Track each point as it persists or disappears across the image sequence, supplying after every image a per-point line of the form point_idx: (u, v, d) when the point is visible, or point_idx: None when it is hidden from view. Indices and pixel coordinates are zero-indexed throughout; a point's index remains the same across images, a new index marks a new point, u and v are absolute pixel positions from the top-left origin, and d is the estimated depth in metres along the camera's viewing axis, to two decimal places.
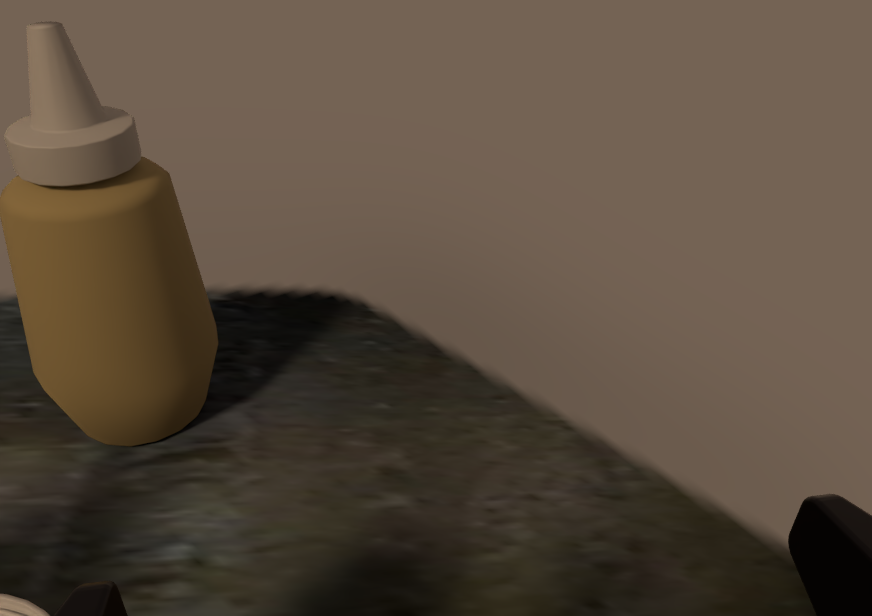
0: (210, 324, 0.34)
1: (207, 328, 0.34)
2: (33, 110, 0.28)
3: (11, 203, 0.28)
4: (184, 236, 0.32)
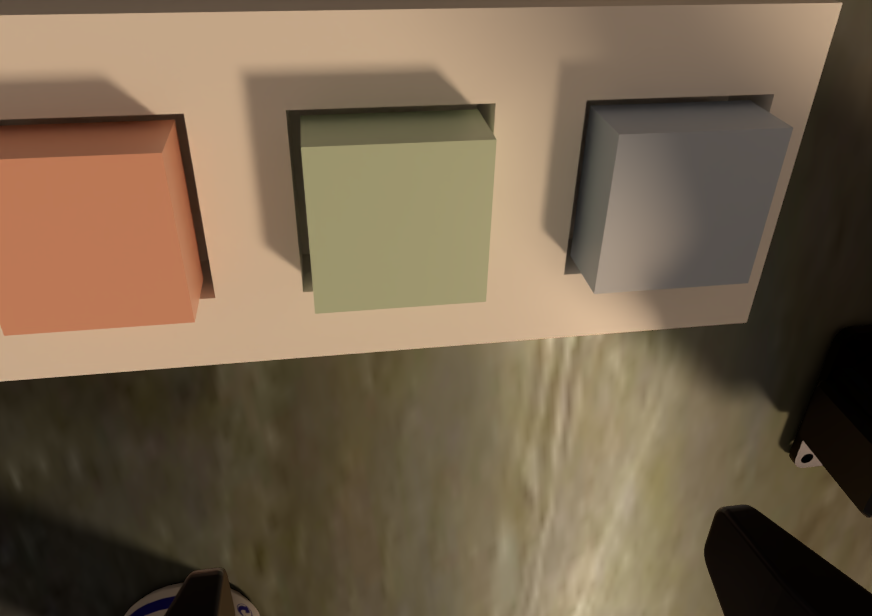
0: None
1: None
2: None
3: None
4: None
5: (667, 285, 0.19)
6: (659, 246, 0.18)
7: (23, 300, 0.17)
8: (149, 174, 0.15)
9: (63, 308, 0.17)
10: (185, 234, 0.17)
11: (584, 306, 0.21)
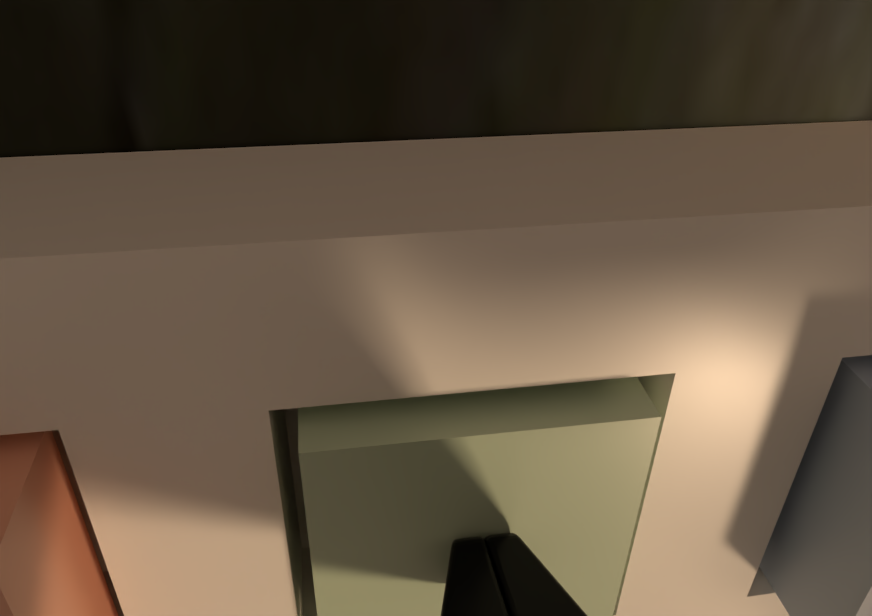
0: None
1: None
2: None
3: None
4: None
5: None
6: None
7: None
8: None
9: None
10: None
11: None
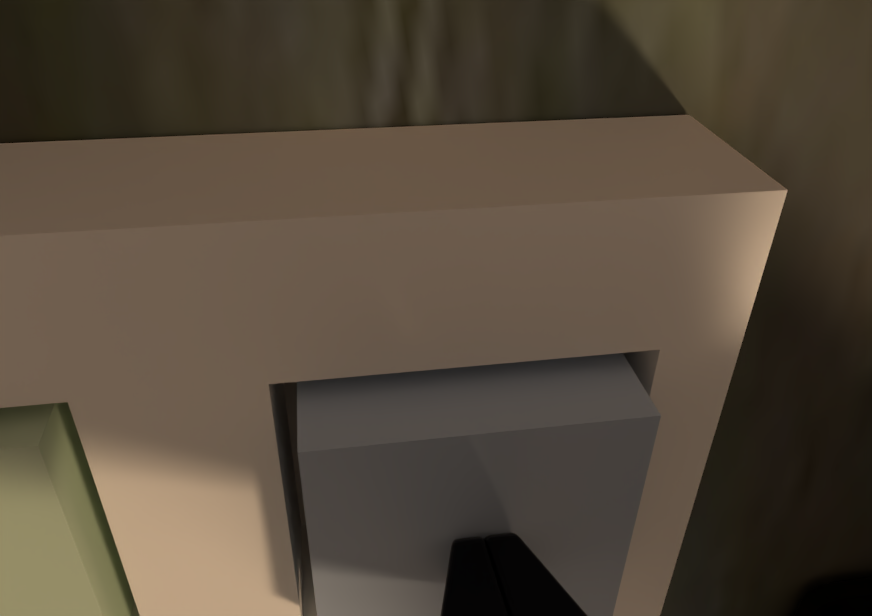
0: None
1: None
2: None
3: None
4: None
5: None
6: (431, 600, 0.10)
7: None
8: None
9: None
10: None
11: None
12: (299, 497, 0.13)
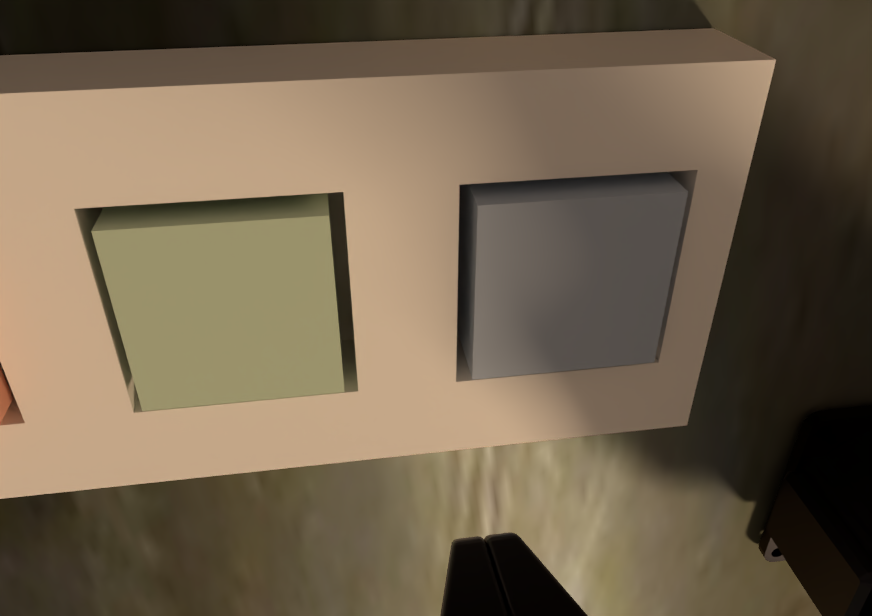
0: None
1: None
2: None
3: None
4: None
5: (559, 367, 0.17)
6: (543, 326, 0.16)
7: None
8: None
9: None
10: None
11: (486, 415, 0.18)
12: None
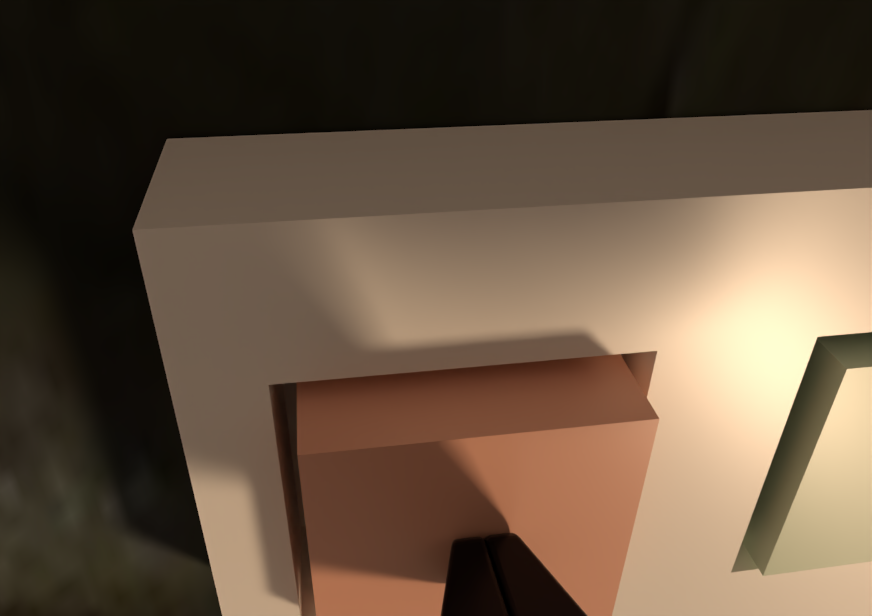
0: None
1: None
2: None
3: None
4: None
5: None
6: None
7: None
8: (626, 449, 0.09)
9: None
10: None
11: None
12: None
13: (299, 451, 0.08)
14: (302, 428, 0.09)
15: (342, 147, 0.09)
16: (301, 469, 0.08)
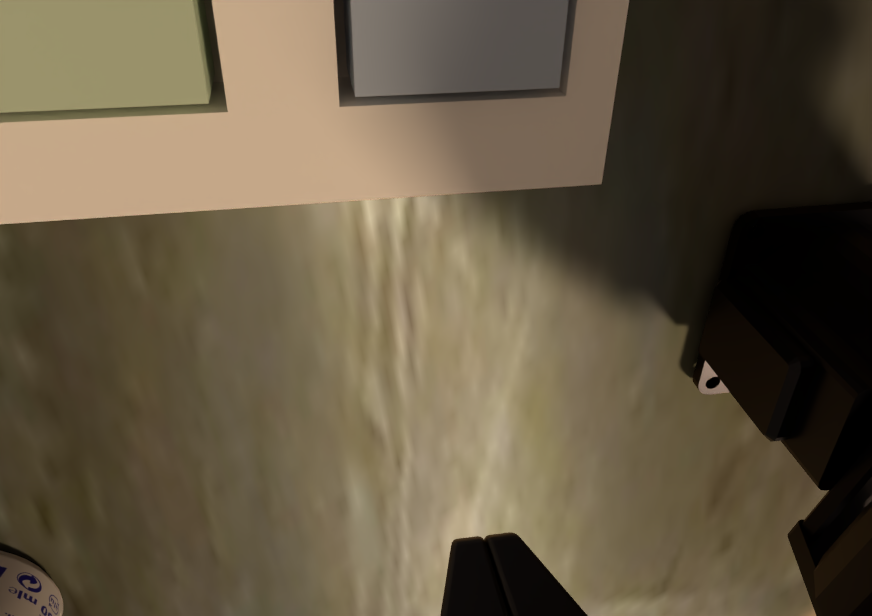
0: None
1: None
2: None
3: None
4: None
5: (454, 90, 0.15)
6: (431, 28, 0.14)
7: None
8: None
9: None
10: None
11: (376, 155, 0.16)
12: None
13: None
14: None
15: None
16: None
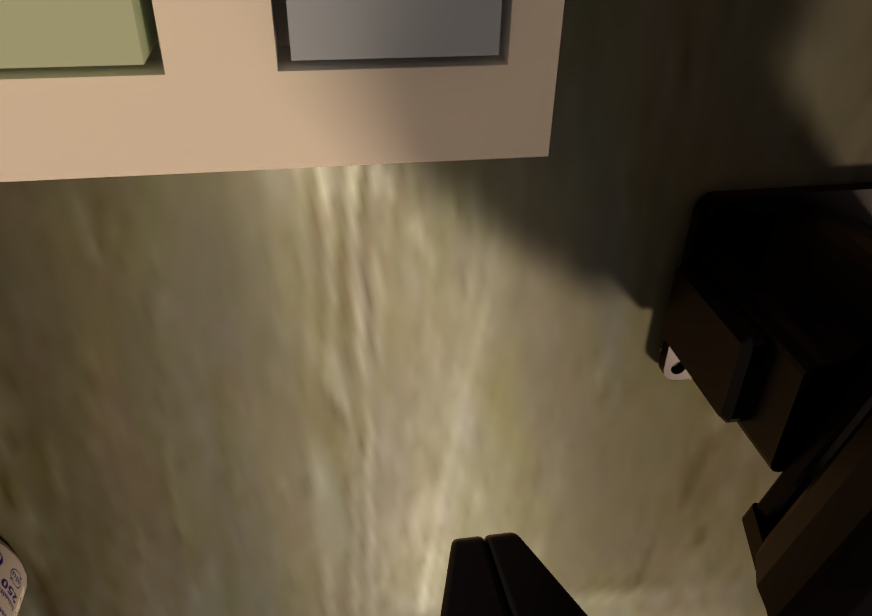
0: None
1: None
2: None
3: None
4: None
5: (392, 56, 0.15)
6: None
7: None
8: None
9: None
10: None
11: (317, 122, 0.16)
12: (277, 12, 0.16)
13: None
14: None
15: None
16: None
